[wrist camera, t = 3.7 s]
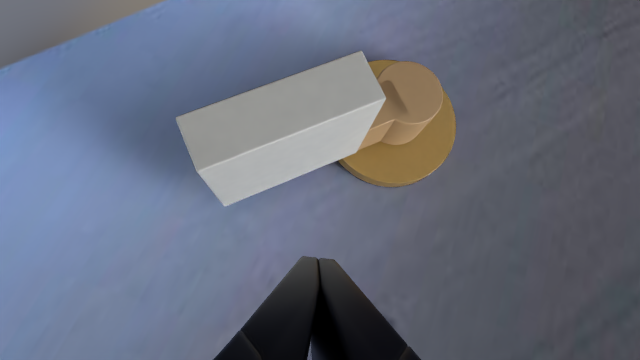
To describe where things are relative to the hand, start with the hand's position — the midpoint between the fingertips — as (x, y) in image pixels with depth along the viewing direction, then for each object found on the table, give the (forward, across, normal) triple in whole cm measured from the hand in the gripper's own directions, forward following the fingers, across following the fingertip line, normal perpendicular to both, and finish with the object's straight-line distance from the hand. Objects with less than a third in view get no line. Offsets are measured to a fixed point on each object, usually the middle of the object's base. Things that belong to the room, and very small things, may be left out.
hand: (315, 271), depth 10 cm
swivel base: (+16, +4, -2) cm, 17 cm away
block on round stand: (+13, +1, -3) cm, 14 cm away
